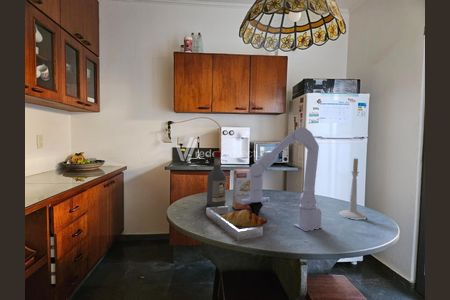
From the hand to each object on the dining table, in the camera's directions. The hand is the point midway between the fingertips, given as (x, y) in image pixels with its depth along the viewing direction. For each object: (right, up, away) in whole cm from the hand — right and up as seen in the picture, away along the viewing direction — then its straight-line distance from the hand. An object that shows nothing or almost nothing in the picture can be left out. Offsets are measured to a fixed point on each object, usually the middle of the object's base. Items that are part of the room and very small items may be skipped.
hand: (255, 218), depth 122 cm
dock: (-12, -1, -5) cm, 13 cm away
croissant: (-6, -2, -4) cm, 7 cm away
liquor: (-19, +1, +26) cm, 33 cm away
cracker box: (-2, 0, +22) cm, 22 cm away
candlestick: (+51, -2, +12) cm, 52 cm away
